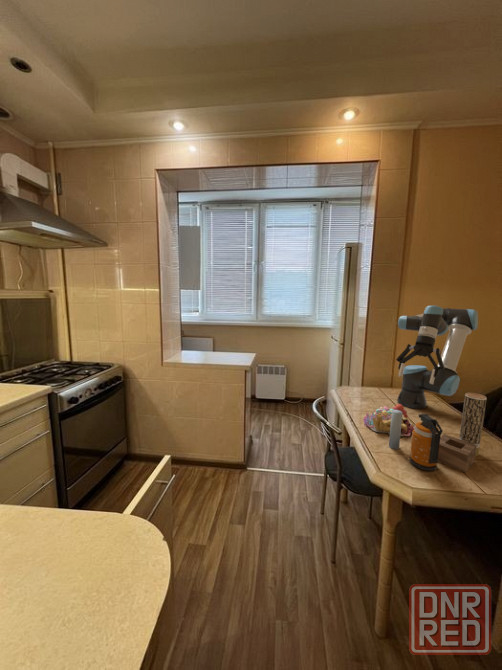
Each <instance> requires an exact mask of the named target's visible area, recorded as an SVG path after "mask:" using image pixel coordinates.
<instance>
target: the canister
mask: <svg viewBox="0 0 502 670" xmlns="http://www.w3.org/2000/svg"><path fill="white" fill-rule="evenodd" d="M418 418H420V422H417V423H416V424H415V425H414V428H415V429H414V430H413V432H412V434H411V441H410V442H411V445H410V453H409V462H410V463H411V464H412V465H413V466H414V467H416V468H418V469H421V470H423V471H424V470H425V471H429V472H430V471H435V470H436V469H437V468H438V464H439V461H438V453H439V445H440V437H441V436H442V435H443V434H442V433H443V432H444V430H443V429H442V427H441V425H440V424H439V422H438V420H437V418H436V419H434V418H433V417H431V416H430V415H429V414H427V413H421V414H418Z"/></svg>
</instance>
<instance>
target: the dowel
mask: <svg viewBox="0 0 502 670" xmlns="http://www.w3.org/2000/svg"><path fill="white" fill-rule="evenodd" d="M402 417H403V415H402V412H401V411H399V410H392V415H391V426H390V434H389V437H388V447H389V448H390V449H392V450H399V449H400V441H401V436H400V434H401V424H402Z"/></svg>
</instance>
